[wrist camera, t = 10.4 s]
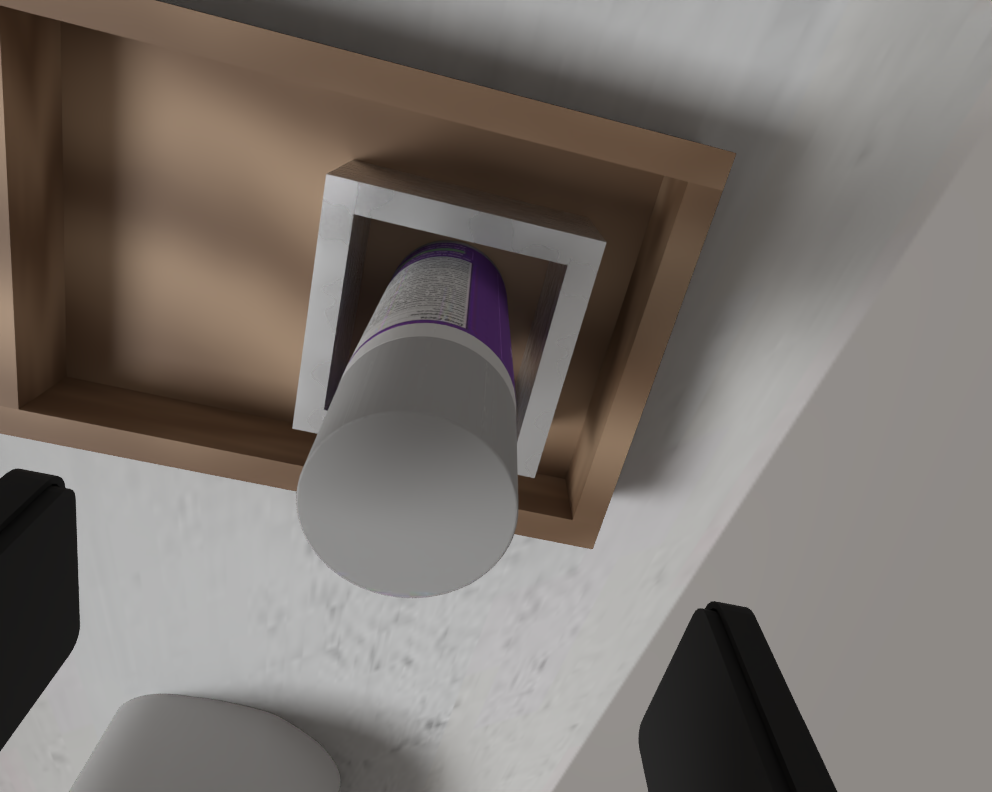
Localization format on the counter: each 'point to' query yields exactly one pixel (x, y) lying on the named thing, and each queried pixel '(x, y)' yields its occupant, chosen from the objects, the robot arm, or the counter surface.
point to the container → (420, 435)
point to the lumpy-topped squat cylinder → (204, 750)
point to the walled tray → (293, 238)
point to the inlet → (462, 216)
